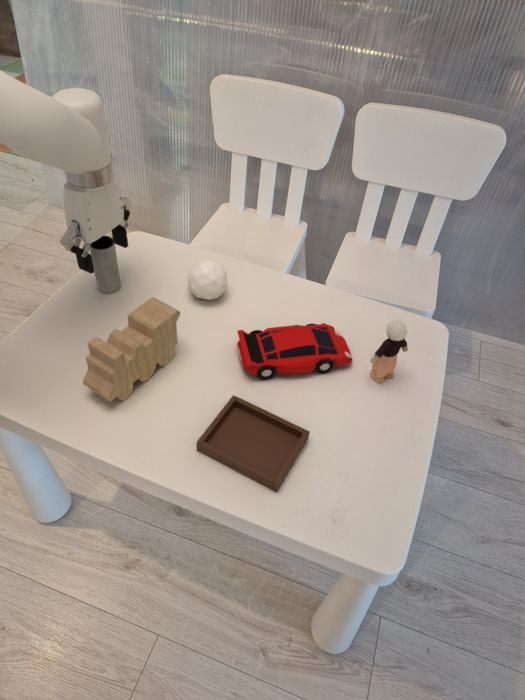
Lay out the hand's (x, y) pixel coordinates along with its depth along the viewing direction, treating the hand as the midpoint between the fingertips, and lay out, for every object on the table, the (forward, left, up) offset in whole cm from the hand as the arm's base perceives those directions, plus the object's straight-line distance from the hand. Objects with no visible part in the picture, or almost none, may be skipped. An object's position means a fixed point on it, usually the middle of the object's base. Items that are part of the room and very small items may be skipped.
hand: (104, 257), depth 99 cm
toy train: (+19, -15, -7) cm, 25 cm away
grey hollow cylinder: (0, 0, -7) cm, 7 cm away
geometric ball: (+18, +8, -7) cm, 21 cm away
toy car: (+40, +2, -7) cm, 40 cm away
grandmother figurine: (+55, +6, -7) cm, 55 cm away
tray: (+43, -18, -7) cm, 47 cm away
